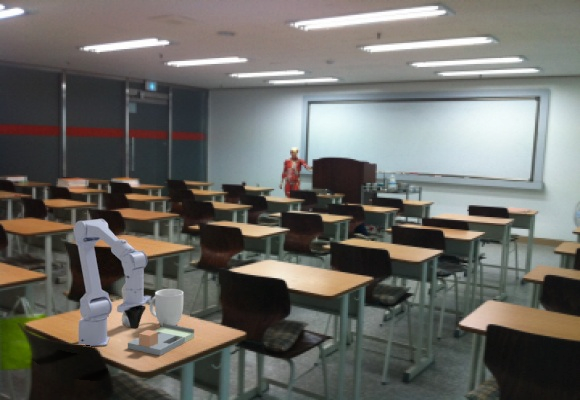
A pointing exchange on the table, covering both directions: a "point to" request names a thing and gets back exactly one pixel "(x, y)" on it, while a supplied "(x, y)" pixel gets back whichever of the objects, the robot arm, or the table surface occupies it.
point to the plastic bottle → (124, 316)
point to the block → (148, 338)
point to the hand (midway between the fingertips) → (134, 327)
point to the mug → (167, 306)
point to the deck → (165, 339)
